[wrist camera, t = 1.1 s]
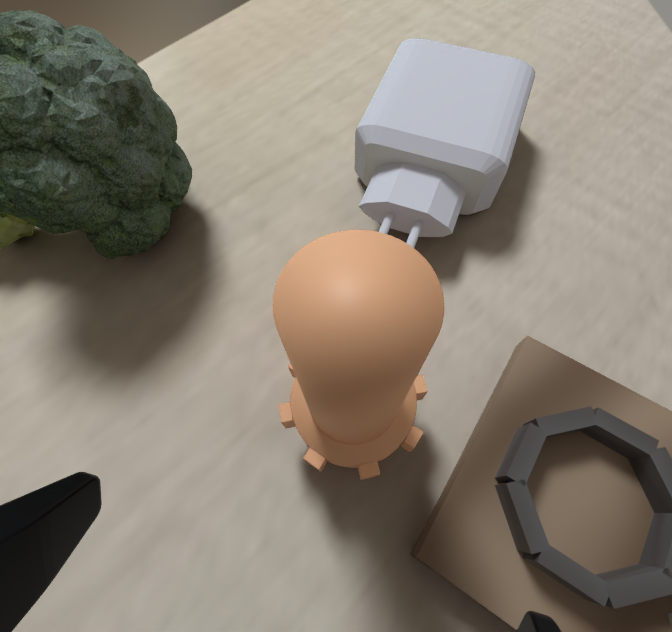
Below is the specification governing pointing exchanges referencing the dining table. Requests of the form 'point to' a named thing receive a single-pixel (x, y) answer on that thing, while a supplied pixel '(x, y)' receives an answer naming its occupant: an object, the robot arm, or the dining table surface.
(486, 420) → the gear board
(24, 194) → the vegetable
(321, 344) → the gear spindle
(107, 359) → the dining table surface
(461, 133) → the charger
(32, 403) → the dining table surface
